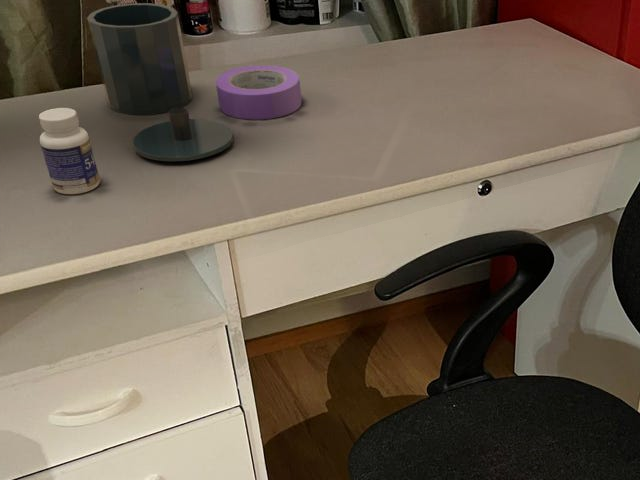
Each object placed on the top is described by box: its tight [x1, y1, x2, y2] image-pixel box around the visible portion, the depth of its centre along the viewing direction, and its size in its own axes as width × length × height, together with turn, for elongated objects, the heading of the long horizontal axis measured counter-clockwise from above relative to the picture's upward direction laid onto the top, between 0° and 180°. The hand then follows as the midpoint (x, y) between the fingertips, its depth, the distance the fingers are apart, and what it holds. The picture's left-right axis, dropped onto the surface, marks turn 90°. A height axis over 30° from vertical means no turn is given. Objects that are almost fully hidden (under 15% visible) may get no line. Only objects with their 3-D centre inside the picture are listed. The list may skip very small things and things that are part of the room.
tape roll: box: [215, 64, 303, 121], centre depth 124 cm, size 12×12×4 cm
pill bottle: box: [38, 107, 101, 195], centre depth 101 cm, size 5×5×9 cm
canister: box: [86, 2, 193, 116], centre depth 122 cm, size 12×12×12 cm
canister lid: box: [132, 107, 234, 162], centre depth 112 cm, size 13×13×5 cm
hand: (156, 1), depth 103 cm, fingers open, 8 cm apart
